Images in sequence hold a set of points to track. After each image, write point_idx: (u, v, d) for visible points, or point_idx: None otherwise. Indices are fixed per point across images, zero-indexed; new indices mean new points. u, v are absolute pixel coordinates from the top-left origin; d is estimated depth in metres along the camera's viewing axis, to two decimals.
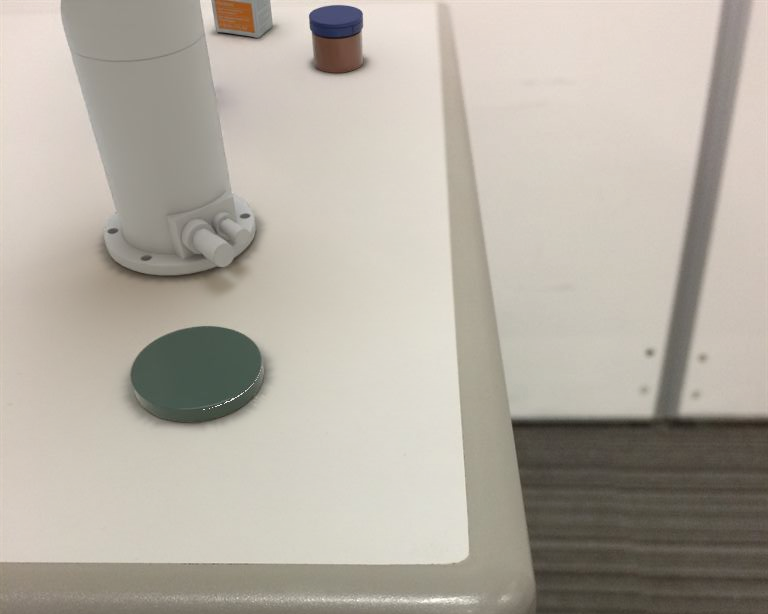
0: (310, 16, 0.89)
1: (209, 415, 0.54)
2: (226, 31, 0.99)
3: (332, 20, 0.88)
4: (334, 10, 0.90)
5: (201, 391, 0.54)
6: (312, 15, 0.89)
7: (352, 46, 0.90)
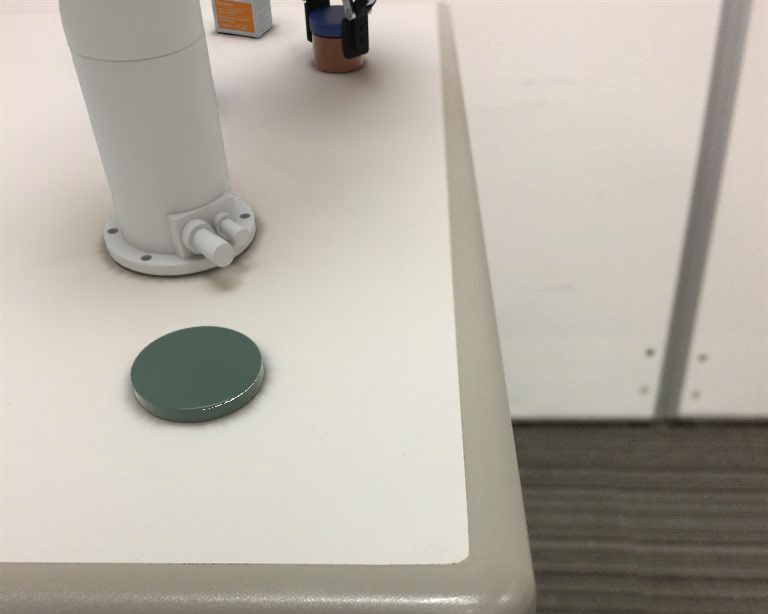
0: (310, 16, 0.89)
1: (209, 415, 0.54)
2: (226, 31, 0.99)
3: (332, 20, 0.88)
4: (334, 10, 0.90)
5: (201, 391, 0.54)
6: (312, 15, 0.89)
7: None
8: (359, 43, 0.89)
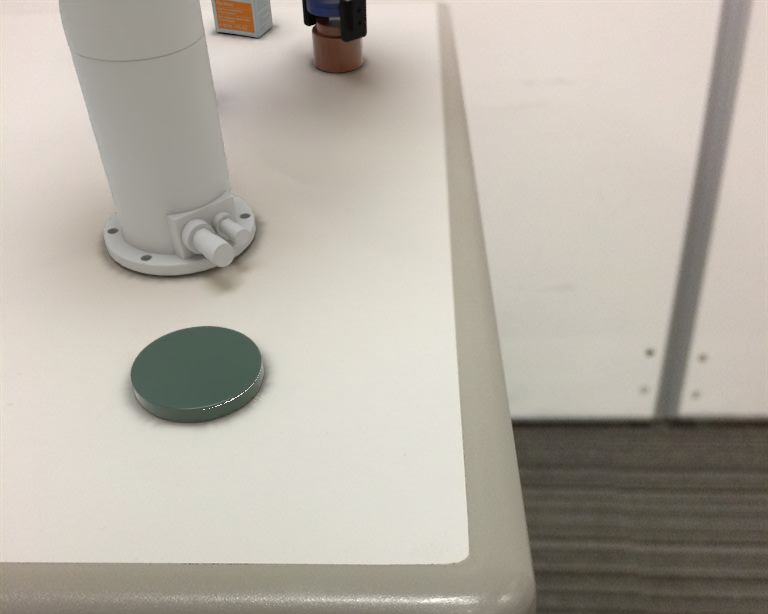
0: None
1: (209, 415, 0.54)
2: (226, 31, 0.99)
3: None
4: None
5: (201, 391, 0.54)
6: None
7: (353, 47, 0.90)
8: None
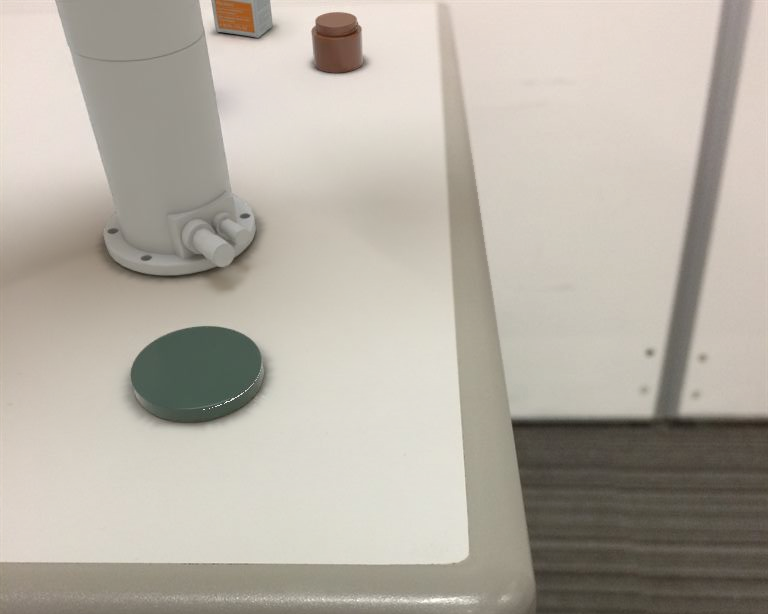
0: None
1: (209, 415, 0.54)
2: (226, 31, 0.99)
3: None
4: None
5: (201, 391, 0.54)
6: None
7: (352, 46, 0.90)
8: None
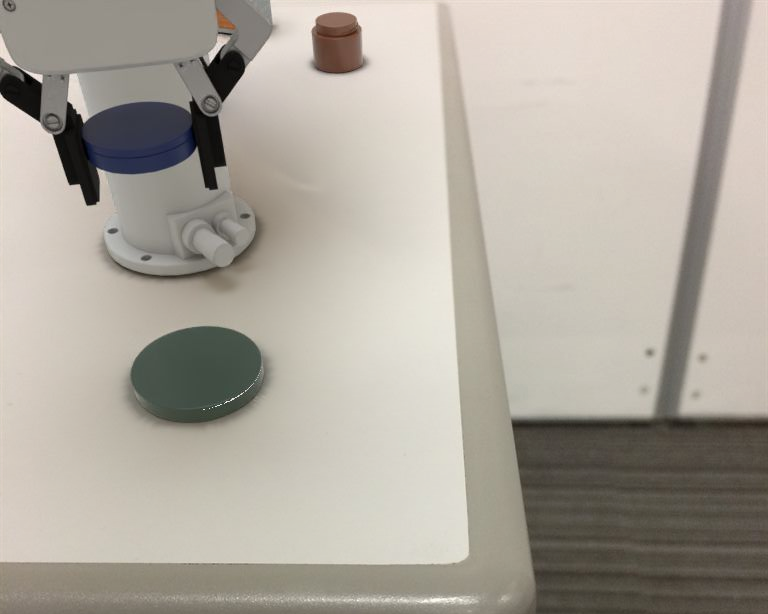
0: (109, 148, 0.42)
1: (209, 415, 0.54)
2: (226, 31, 0.99)
3: (160, 133, 0.43)
4: (117, 121, 0.44)
5: (201, 391, 0.54)
6: (107, 145, 0.42)
7: (352, 46, 0.90)
8: None
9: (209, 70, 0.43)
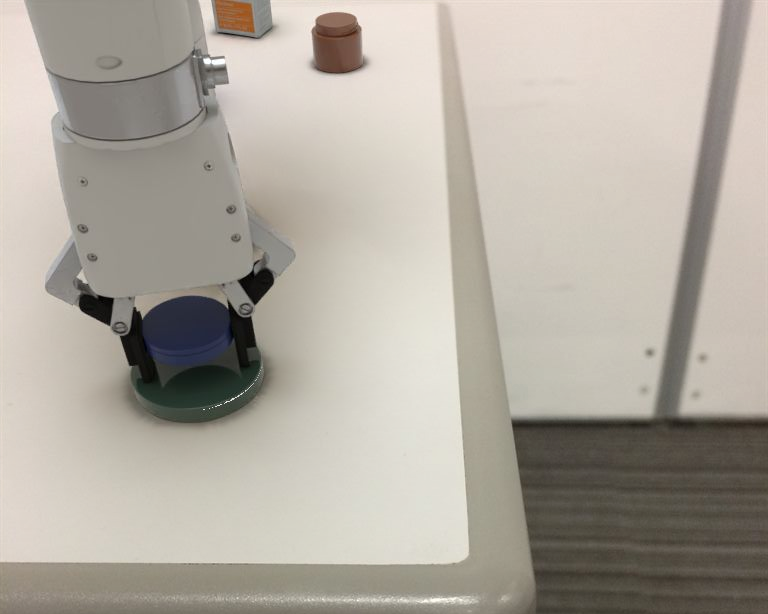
0: (165, 347, 0.52)
1: (209, 415, 0.54)
2: (226, 31, 0.99)
3: (205, 332, 0.53)
4: (169, 318, 0.54)
5: (201, 391, 0.54)
6: (163, 344, 0.52)
7: (352, 46, 0.90)
8: None
9: (244, 281, 0.53)
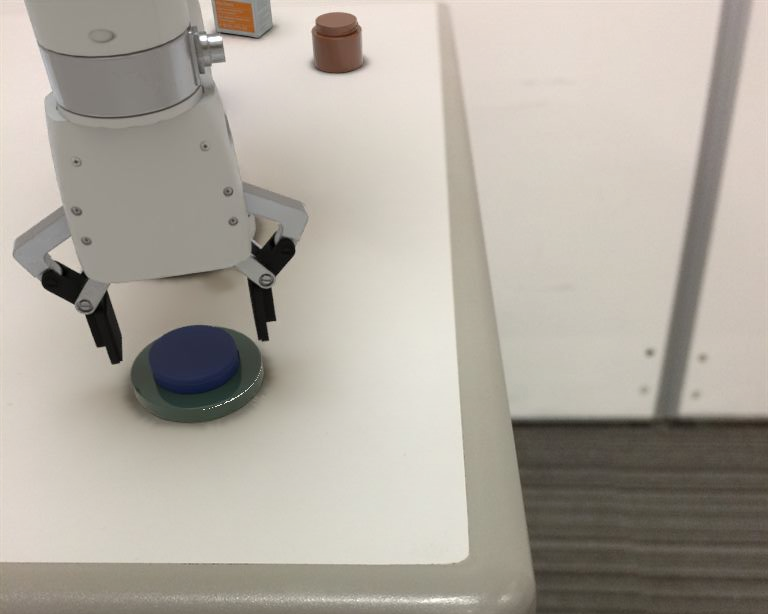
0: (172, 376, 0.53)
1: (209, 415, 0.54)
2: (226, 31, 0.99)
3: (211, 361, 0.54)
4: (176, 347, 0.55)
5: None
6: (170, 373, 0.54)
7: (352, 46, 0.90)
8: None
9: (265, 251, 0.51)
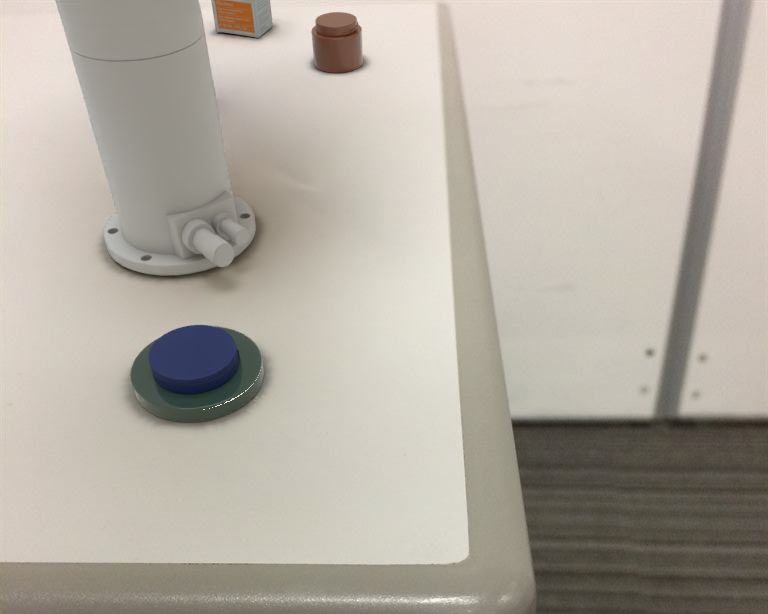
0: (172, 376, 0.53)
1: (209, 415, 0.54)
2: (226, 31, 0.99)
3: (211, 361, 0.54)
4: (176, 347, 0.55)
5: None
6: (170, 373, 0.54)
7: (352, 46, 0.90)
8: None
9: None
